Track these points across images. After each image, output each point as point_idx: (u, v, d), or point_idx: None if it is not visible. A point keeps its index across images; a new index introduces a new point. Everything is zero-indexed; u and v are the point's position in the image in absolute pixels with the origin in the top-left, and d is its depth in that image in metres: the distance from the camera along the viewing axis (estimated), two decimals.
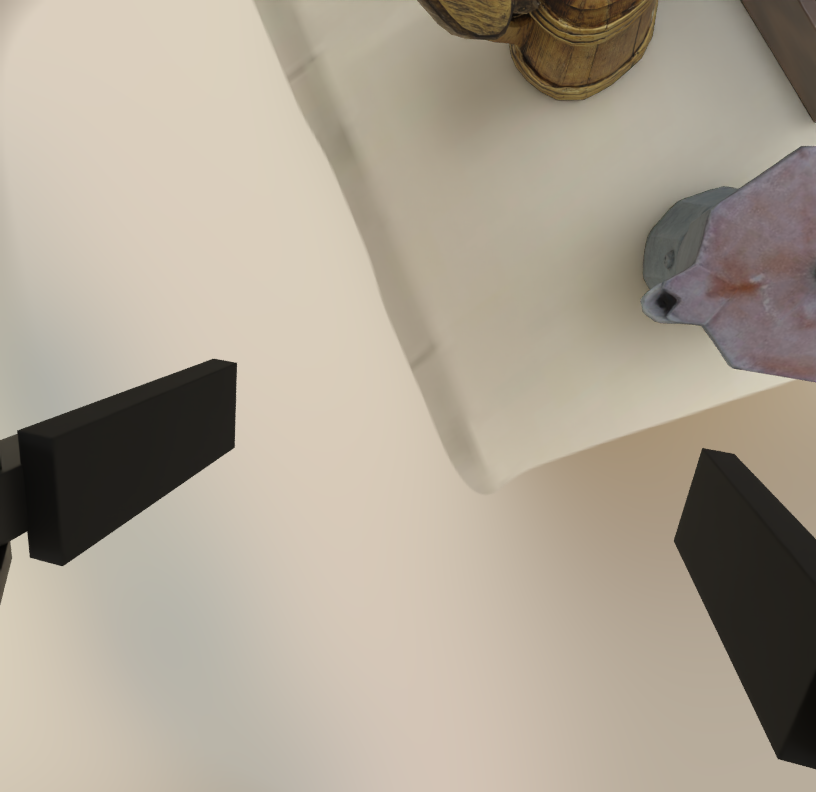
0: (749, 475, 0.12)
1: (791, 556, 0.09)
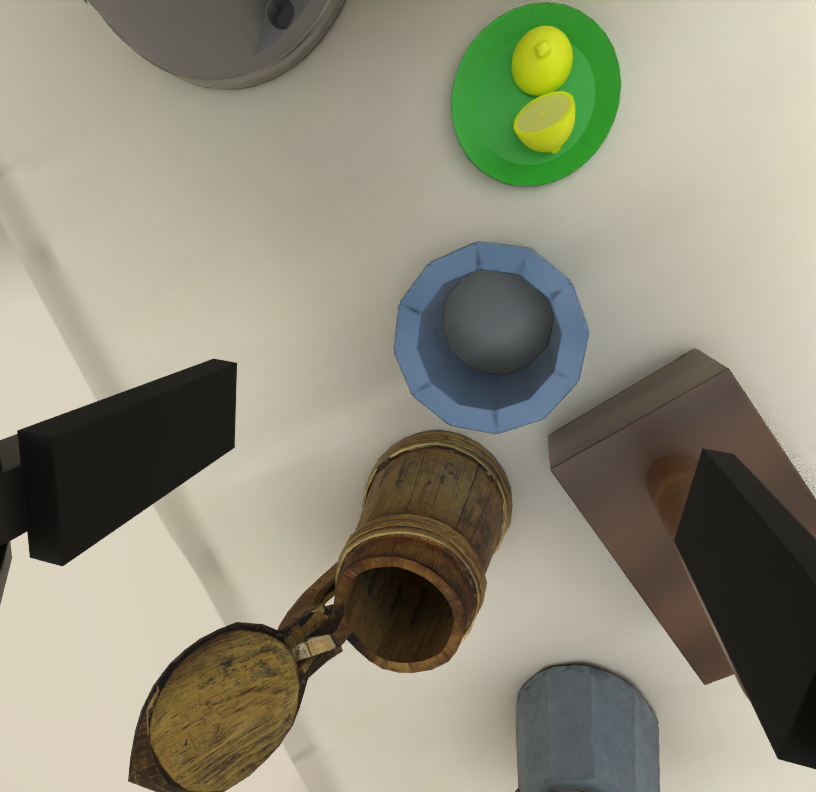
0: (749, 475, 0.12)
1: (791, 556, 0.09)
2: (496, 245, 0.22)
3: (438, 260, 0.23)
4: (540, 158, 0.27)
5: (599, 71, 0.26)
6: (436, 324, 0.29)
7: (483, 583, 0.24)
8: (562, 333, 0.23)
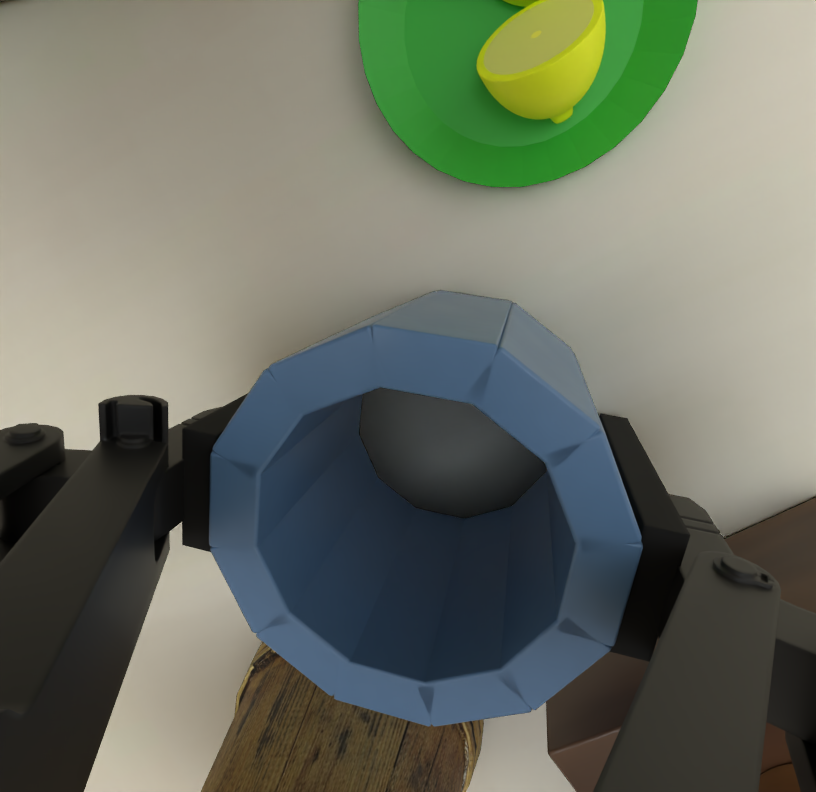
0: (630, 433, 0.14)
1: (629, 488, 0.11)
2: (418, 335, 0.09)
3: (286, 363, 0.10)
4: (532, 134, 0.14)
5: None
6: (338, 443, 0.15)
7: None
8: (578, 543, 0.09)
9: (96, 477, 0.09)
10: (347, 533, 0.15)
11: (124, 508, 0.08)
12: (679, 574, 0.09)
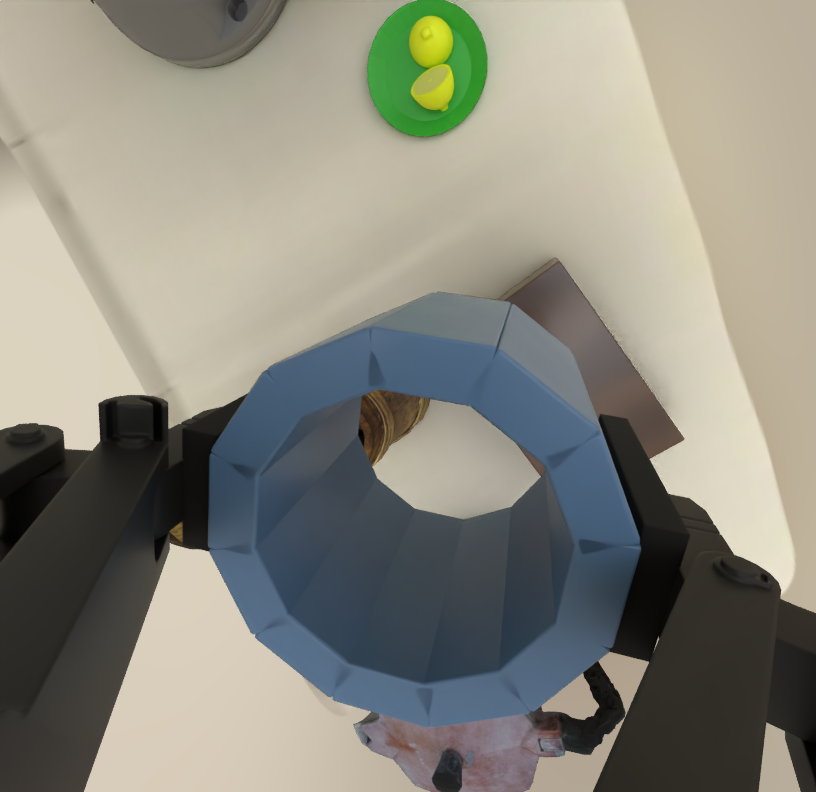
0: (630, 433, 0.14)
1: (629, 488, 0.11)
2: (416, 337, 0.09)
3: (285, 365, 0.10)
4: (435, 115, 0.37)
5: (473, 48, 0.35)
6: (337, 444, 0.15)
7: (390, 420, 0.34)
8: (576, 545, 0.09)
9: (95, 477, 0.09)
10: (346, 534, 0.15)
11: (124, 508, 0.08)
12: (679, 574, 0.09)
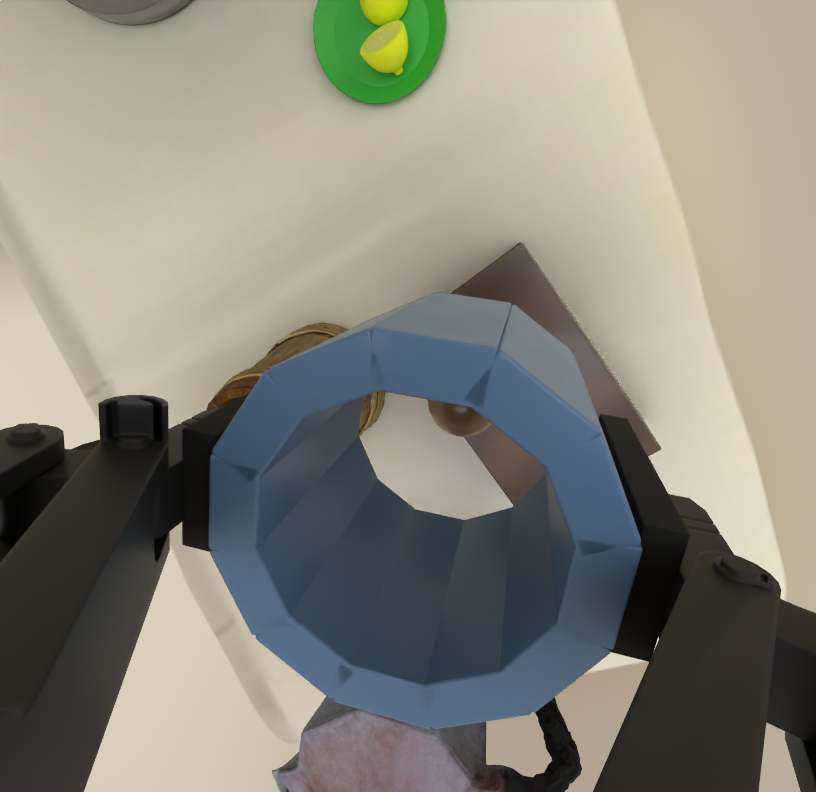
0: (630, 433, 0.14)
1: (629, 488, 0.11)
2: (417, 338, 0.09)
3: (286, 366, 0.10)
4: (389, 80, 0.33)
5: (430, 4, 0.31)
6: (337, 445, 0.15)
7: None
8: (577, 546, 0.09)
9: (96, 477, 0.09)
10: (347, 535, 0.15)
11: (124, 508, 0.08)
12: (679, 574, 0.09)
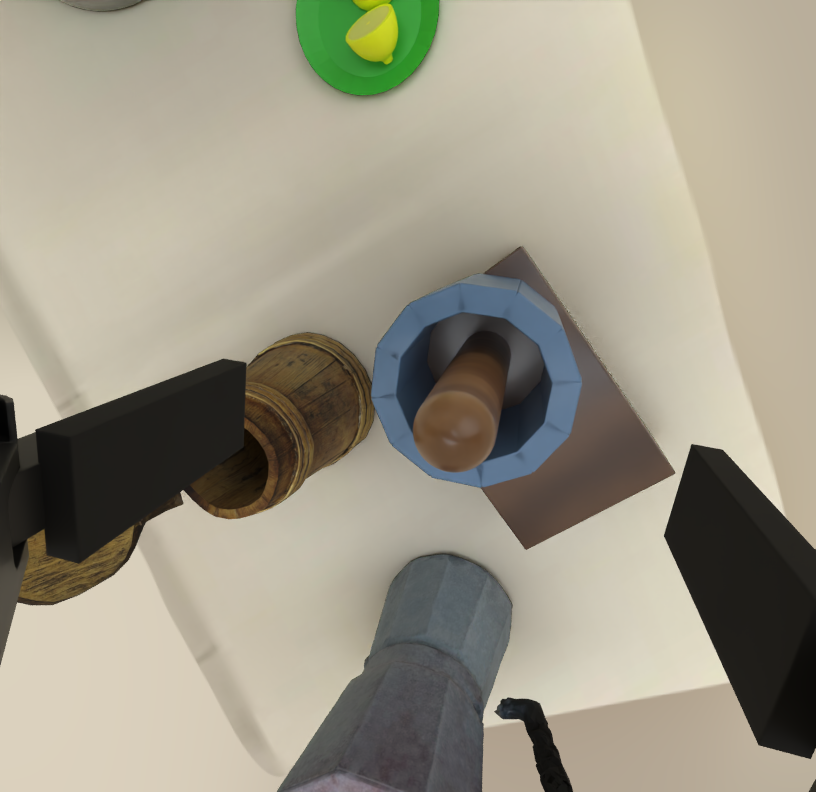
0: (736, 470, 0.12)
1: (773, 548, 0.09)
2: (481, 287, 0.20)
3: (418, 301, 0.21)
4: (378, 70, 0.30)
5: None
6: (420, 361, 0.27)
7: (308, 442, 0.27)
8: (553, 383, 0.21)
9: None
10: None
11: None
12: None
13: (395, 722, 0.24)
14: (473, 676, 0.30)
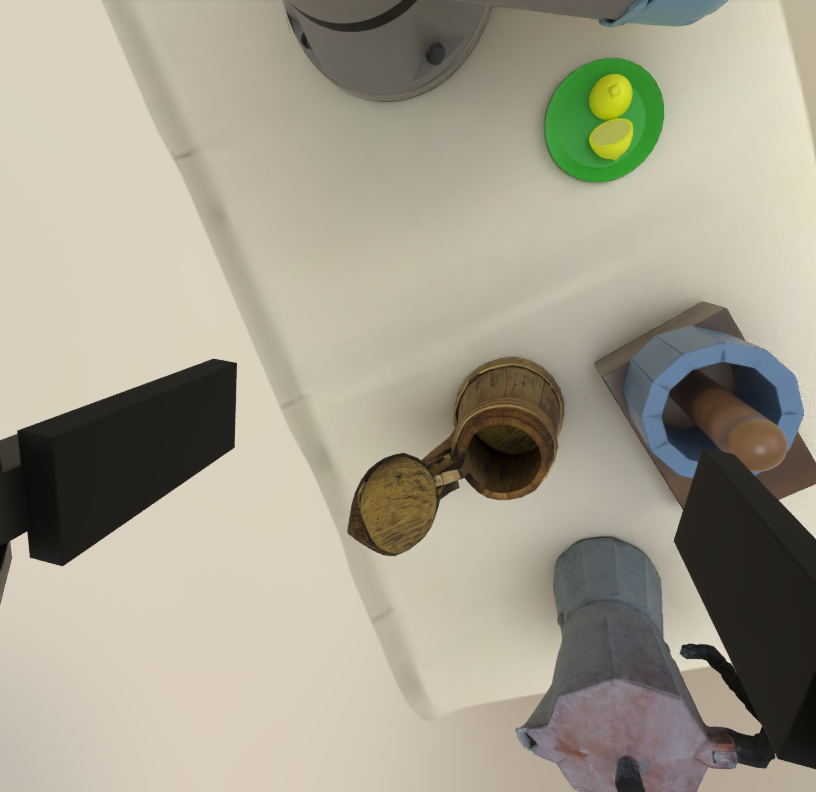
0: (749, 475, 0.12)
1: (791, 556, 0.09)
2: (740, 346, 0.30)
3: (690, 353, 0.30)
4: (604, 163, 0.40)
5: (649, 106, 0.38)
6: None
7: (556, 445, 0.37)
8: (782, 413, 0.30)
9: None
10: None
11: None
12: None
13: (633, 651, 0.34)
14: (657, 628, 0.39)
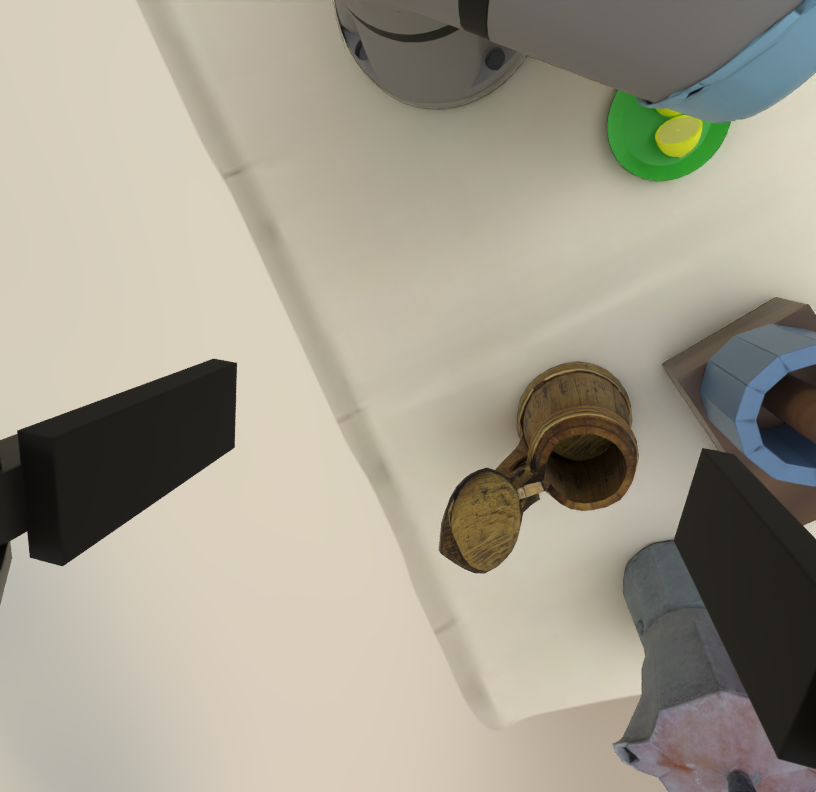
0: (749, 475, 0.12)
1: (791, 556, 0.09)
2: None
3: (787, 354, 0.30)
4: (669, 161, 0.39)
5: None
6: None
7: None
8: None
9: None
10: None
11: None
12: None
13: None
14: None
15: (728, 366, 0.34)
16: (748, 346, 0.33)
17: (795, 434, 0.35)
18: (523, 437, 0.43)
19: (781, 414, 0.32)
